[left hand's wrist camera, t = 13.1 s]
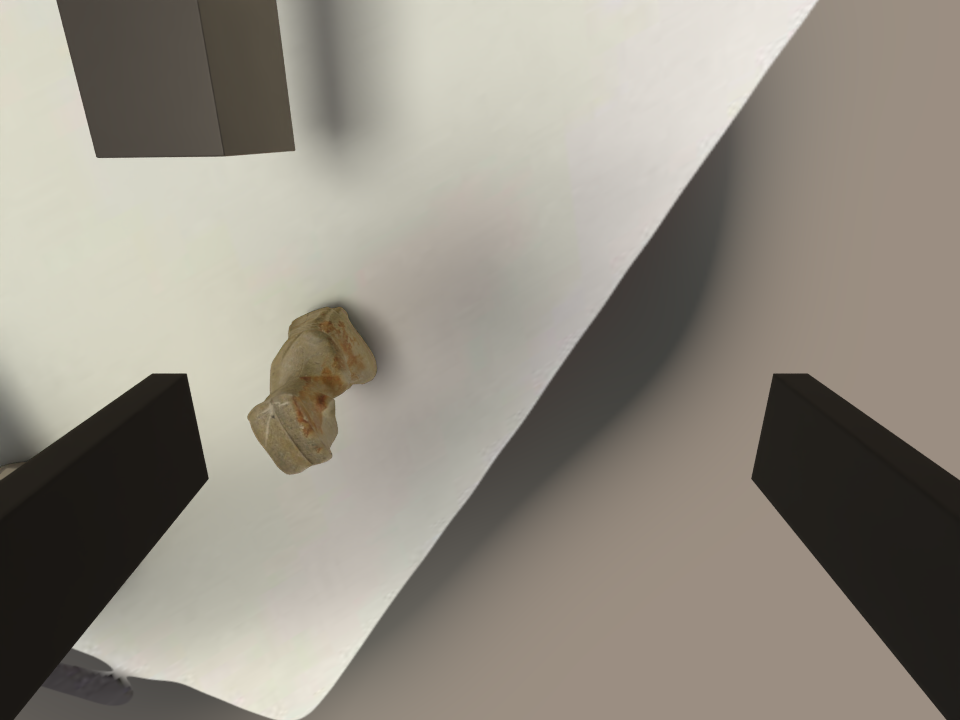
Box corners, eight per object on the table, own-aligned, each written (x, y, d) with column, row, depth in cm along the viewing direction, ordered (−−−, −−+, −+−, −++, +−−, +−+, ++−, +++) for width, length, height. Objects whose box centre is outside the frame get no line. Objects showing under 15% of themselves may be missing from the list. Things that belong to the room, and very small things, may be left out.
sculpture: (327, 390, 47) (263, 494, 33) (289, 313, 45) (202, 390, 31) (390, 368, 46) (352, 465, 32) (355, 289, 44) (296, 357, 30)
